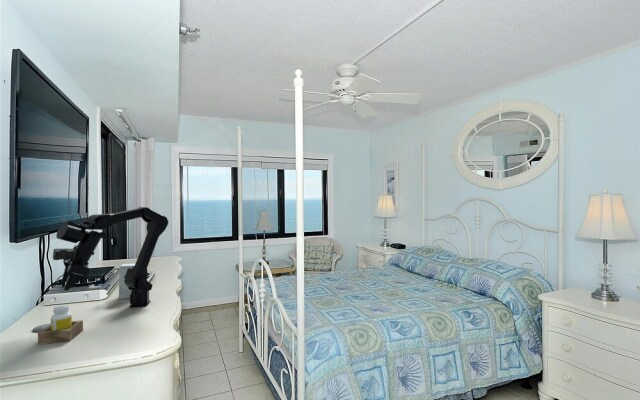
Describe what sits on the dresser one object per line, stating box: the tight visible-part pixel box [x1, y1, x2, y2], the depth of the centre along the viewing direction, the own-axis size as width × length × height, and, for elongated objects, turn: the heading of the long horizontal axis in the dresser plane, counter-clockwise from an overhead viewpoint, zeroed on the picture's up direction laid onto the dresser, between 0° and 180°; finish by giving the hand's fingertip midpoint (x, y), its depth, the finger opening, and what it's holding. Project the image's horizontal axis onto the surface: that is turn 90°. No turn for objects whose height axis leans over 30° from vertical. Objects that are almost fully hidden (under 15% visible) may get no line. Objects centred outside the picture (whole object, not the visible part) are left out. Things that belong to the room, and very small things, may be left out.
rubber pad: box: [32, 322, 51, 333], centre depth 117 cm, size 7×7×1 cm
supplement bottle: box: [50, 305, 73, 331], centre depth 109 cm, size 5×5×10 cm
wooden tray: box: [37, 319, 84, 345], centre depth 109 cm, size 9×9×4 cm
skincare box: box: [118, 263, 136, 300], centre depth 153 cm, size 8×6×15 cm
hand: (64, 286), depth 120 cm, fingers open, 9 cm apart
